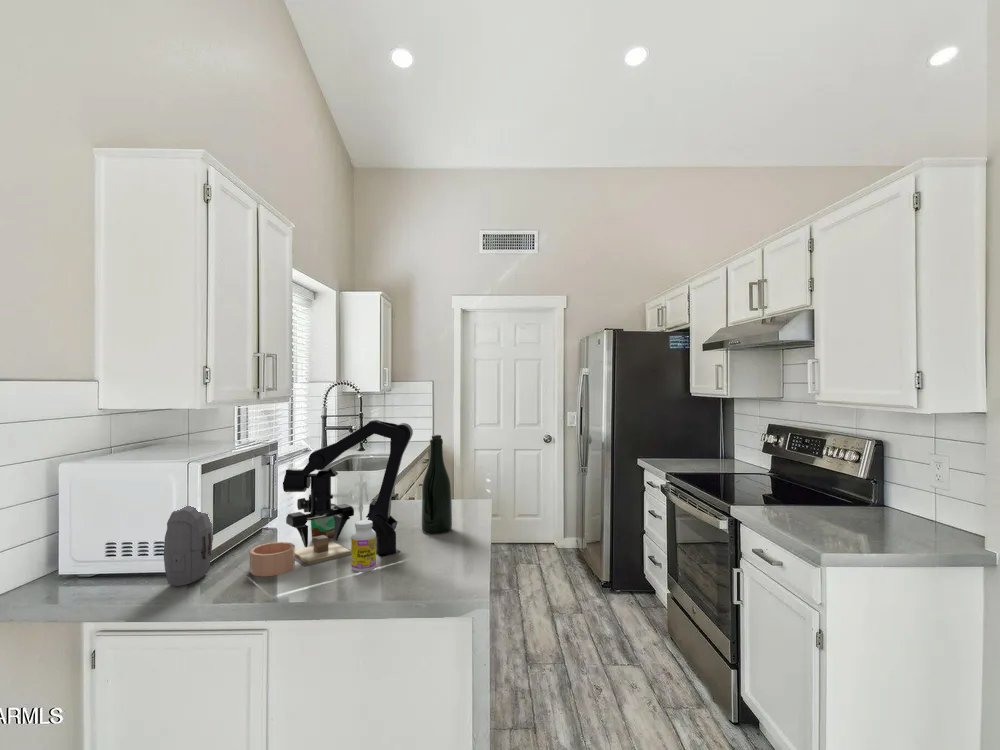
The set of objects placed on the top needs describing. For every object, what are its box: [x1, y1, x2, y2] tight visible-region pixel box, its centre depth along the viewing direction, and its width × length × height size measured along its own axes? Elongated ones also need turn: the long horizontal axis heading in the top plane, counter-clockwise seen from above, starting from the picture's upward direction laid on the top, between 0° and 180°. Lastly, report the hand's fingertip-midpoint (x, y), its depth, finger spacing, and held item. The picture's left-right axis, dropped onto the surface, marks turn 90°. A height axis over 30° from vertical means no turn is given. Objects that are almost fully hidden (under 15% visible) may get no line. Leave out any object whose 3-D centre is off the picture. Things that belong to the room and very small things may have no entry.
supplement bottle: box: [350, 519, 377, 573], centre depth 145 cm, size 7×7×13 cm
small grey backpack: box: [163, 505, 214, 587], centre depth 137 cm, size 15×8×20 cm, turn 3°
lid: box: [295, 535, 351, 564], centre depth 157 cm, size 13×13×5 cm
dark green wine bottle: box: [421, 434, 453, 535], centre depth 181 cm, size 10×10×33 cm
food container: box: [309, 503, 337, 541], centre depth 174 cm, size 12×6×10 cm, turn 168°
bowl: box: [249, 541, 296, 577], centre depth 144 cm, size 11×11×6 cm
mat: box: [295, 541, 351, 568], centre depth 157 cm, size 16×16×1 cm
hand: (321, 543), depth 157 cm, fingers open, 9 cm apart
